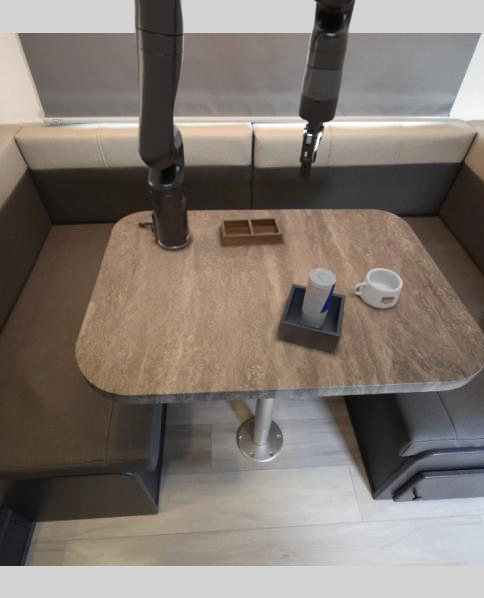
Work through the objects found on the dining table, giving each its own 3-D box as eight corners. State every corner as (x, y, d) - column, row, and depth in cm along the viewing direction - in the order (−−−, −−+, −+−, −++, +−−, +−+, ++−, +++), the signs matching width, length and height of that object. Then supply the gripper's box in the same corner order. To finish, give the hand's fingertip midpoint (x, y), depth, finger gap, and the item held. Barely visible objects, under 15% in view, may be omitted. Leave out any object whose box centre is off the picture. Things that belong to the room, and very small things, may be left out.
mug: (388, 282, 94) (396, 265, 89) (402, 309, 87) (411, 292, 83) (344, 284, 93) (350, 267, 89) (356, 311, 86) (362, 294, 82)
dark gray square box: (289, 301, 88) (292, 283, 84) (339, 313, 86) (345, 295, 81) (278, 339, 80) (280, 321, 75) (333, 353, 77) (339, 336, 73)
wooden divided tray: (221, 227, 110) (220, 219, 108) (275, 225, 112) (276, 217, 109) (223, 245, 104) (223, 237, 101) (281, 242, 105) (282, 234, 103)
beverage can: (322, 334, 80) (336, 287, 69) (298, 330, 81) (308, 283, 70) (323, 316, 84) (337, 269, 73) (300, 313, 85) (310, 265, 74)
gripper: (307, 80, 76) (297, 155, 87) (294, 100, 66) (285, 181, 78) (342, 84, 74) (327, 159, 86) (334, 105, 65) (318, 186, 76)
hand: (307, 169), depth 82 cm, fingers open, 8 cm apart
